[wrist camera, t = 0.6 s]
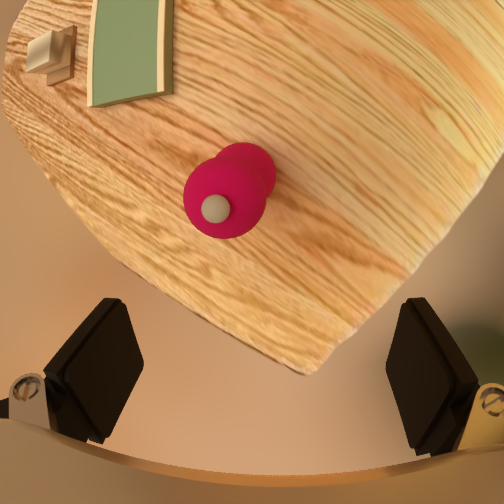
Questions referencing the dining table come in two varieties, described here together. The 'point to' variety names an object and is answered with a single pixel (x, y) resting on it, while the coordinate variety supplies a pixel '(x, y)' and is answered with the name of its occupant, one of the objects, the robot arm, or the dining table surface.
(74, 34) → the butter dish
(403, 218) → the dining table surface
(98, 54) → the dock
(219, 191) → the pepper mill
